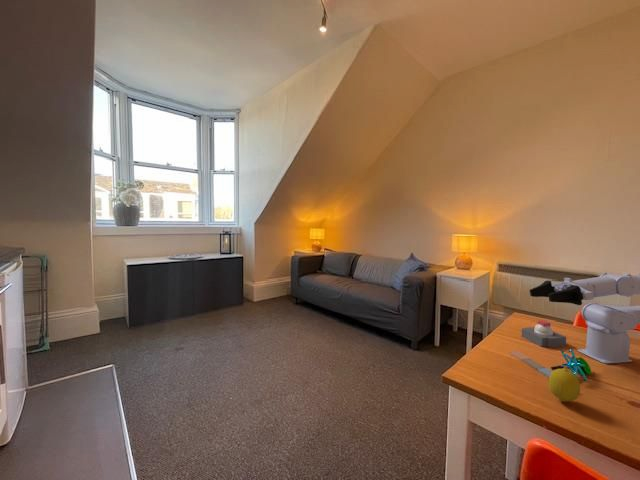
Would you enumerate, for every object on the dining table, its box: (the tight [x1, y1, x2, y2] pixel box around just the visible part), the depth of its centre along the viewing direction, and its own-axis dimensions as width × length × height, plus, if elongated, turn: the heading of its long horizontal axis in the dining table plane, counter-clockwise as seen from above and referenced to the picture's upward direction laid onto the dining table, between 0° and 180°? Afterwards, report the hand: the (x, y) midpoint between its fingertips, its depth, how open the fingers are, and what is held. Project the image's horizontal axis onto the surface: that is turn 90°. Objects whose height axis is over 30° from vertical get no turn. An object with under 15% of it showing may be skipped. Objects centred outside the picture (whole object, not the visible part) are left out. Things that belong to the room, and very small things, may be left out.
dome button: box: [534, 319, 554, 336], centre depth 96 cm, size 5×5×6 cm
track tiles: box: [508, 350, 553, 379], centre depth 81 cm, size 3×15×1 cm, turn 7°
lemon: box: [548, 368, 581, 403], centre depth 65 cm, size 6×6×8 cm
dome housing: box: [521, 326, 567, 348], centre depth 97 cm, size 9×9×3 cm
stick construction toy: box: [550, 349, 592, 382], centre depth 77 cm, size 12×7×8 cm
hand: (539, 295), depth 85 cm, fingers open, 7 cm apart
